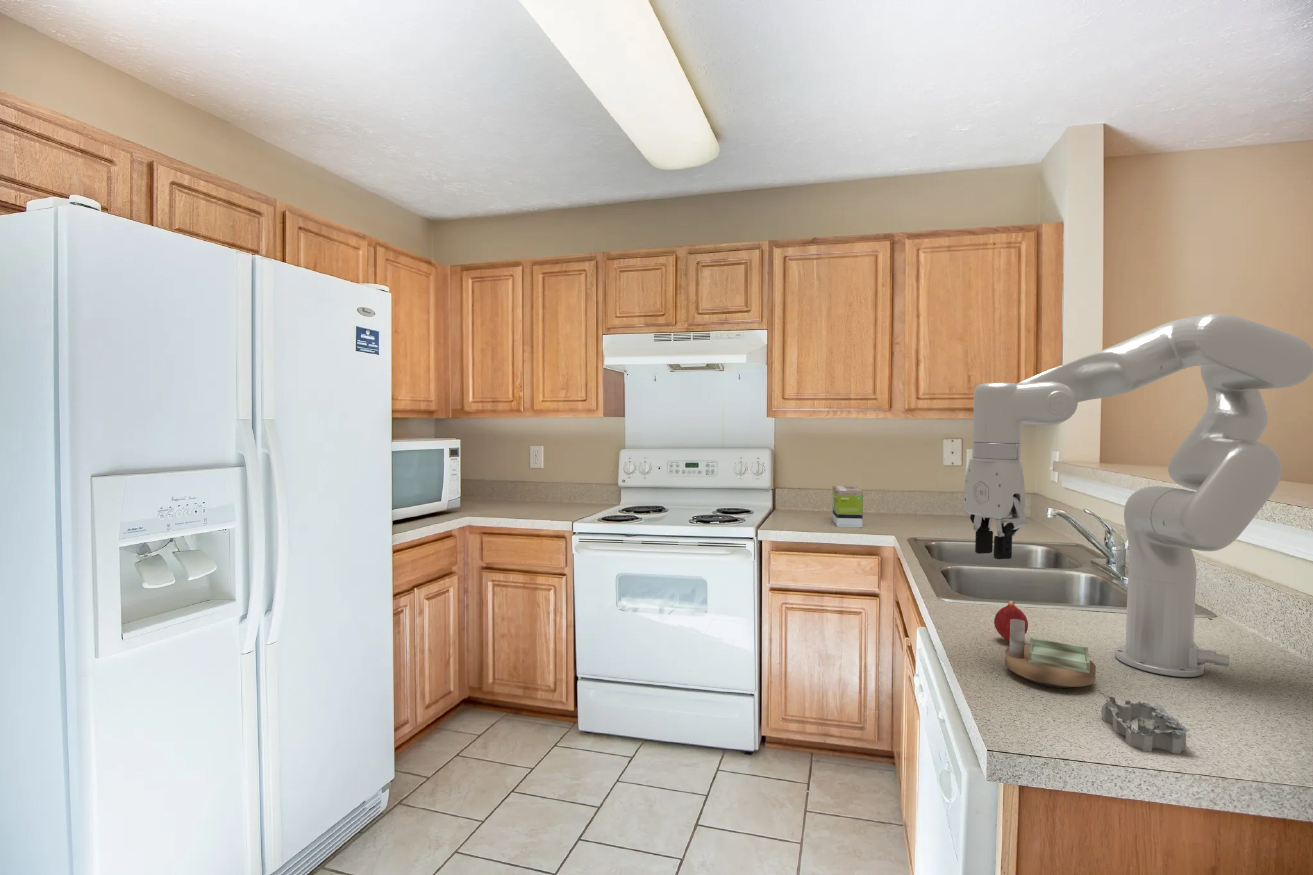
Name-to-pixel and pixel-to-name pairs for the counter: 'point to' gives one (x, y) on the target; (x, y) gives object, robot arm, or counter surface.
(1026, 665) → the disc
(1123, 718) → the egg carton
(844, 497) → the tea box
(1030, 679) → the turntable base
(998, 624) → the onion
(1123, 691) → the counter surface
